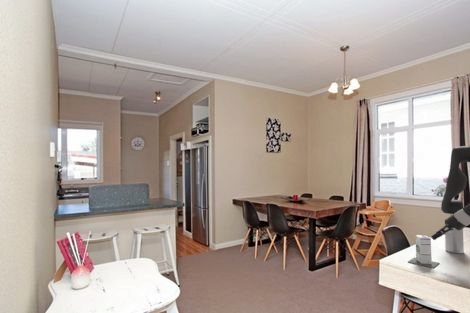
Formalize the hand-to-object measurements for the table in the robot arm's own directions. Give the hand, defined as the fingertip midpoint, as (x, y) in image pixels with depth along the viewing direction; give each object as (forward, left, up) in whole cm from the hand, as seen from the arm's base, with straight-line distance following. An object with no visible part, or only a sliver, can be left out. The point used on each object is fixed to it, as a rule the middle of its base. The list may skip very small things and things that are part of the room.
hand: (434, 237), depth 148 cm
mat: (0, -6, -16) cm, 17 cm away
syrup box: (0, -5, -15) cm, 16 cm away
